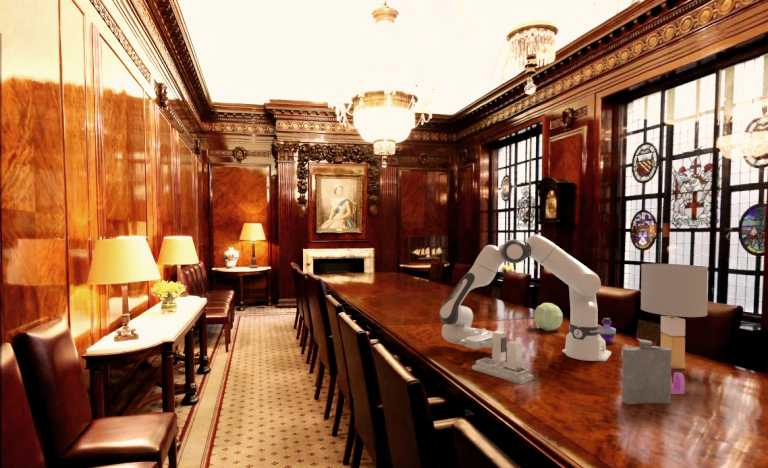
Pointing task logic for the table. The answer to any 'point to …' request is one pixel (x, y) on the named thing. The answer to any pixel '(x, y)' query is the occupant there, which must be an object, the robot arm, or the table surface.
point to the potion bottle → (607, 331)
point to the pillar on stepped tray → (509, 371)
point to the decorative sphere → (548, 316)
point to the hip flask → (646, 374)
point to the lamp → (674, 301)
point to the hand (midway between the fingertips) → (498, 343)
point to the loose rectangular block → (499, 345)
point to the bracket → (678, 383)
